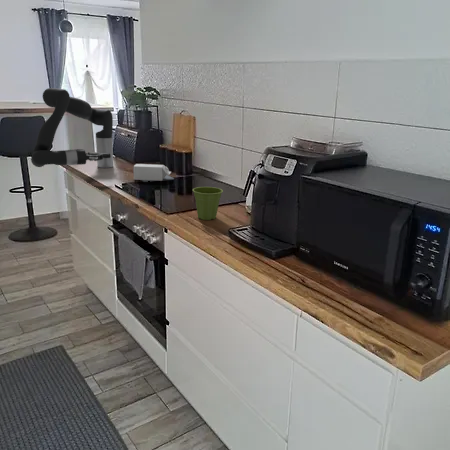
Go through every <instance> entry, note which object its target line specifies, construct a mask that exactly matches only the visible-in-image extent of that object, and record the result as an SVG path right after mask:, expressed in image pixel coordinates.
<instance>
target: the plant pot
mask: <svg viewBox="0 0 450 450" xmlns="http://www.w3.org/2000/svg"><path fill="white" fill-rule="evenodd" d="M192 192H193V194H194V198H195V205H196V214H197V218H198V219H200V220H203V221H211V220H215V219H217V214H218V209H219V206H220V205H219V204H220V201H221V197H222V193H223V192H224V190H223V189H222V188H220V187H215V186H214V187H213V186H198V187H194V188H192Z"/></svg>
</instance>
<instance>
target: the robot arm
mask: <svg viewBox="0 0 450 450" xmlns="http://www.w3.org/2000/svg"><path fill="white" fill-rule="evenodd" d="M42 100H43V103H44V104H45V105H46V106H48V107H50V108H53V109H54V111H53V112H52V113H51V115H50V116H49V117H48V118H47V120H46V121H45V122H44V123H43V124H42V125H41V127H40V129H39V132H38V133H37V138H36V141H35V142H36V143H35V147H34V149H33V152H32V155H31V157H30V161H31V163H32V165H33V166H34V167H37V168H42V167H44V166H46V165H55V166H74V165H75V166H79V165H82V166H83V165H86V163H87V161H89V162H93V161H94V162H96V163H97V164H96V165H97V168H101V169H102V168H104V169H106V168H107V169H108V168H113V167H114V152H113V149H114V147H113V131H114V130H113V129H114V128H113V127H114V126H113V121H114V118H113V117H114V116H113V112H112V111H111V110H109V109H103V108H102V109H100V108H92V106H91V105H90V103H89V102H87V101H86V100H83V99H81V98H78V97H74V96H70V92H68V91H67V90H66V89H64V88H57V87H49V88H46V89H44V91H43V92H42ZM65 113H68V114H71V115H73V116H75V117H77V118H80V119H83V120H86V121H89V122H90V123H91V124H93V125H95V126H101V127H102V129H101V130H99V131H97V132H96V133H95V145H96V146H95V147H96V151H88V152H86V150H85V148H82V149H81V148H79V149H65V150H64V149H63V150H62V149H61V150H50V149H51V148H52V146H53V142H54V140H55V136H56V133H57V129H58V128H59V126H60V123H61V121H62V120H63V118H64V115H65Z"/></svg>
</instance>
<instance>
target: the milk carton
mask: <svg viewBox="0 0 450 450" xmlns="http://www.w3.org/2000/svg"><path fill="white" fill-rule="evenodd" d="M170 174H172V171H170V170H169V168H168V167H167V166H165V165H164V164H150V163H148V164H147V163H135V164H134V165H133V180H136V181H139V180H140V181H142V180H157V181H156V182H159V181H160V182H162V180H163V179H164V178H165V177H166V176H167V175H169V176H171V175H170ZM163 181H164V180H163Z"/></svg>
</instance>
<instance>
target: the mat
mask: <svg viewBox="0 0 450 450" xmlns="http://www.w3.org/2000/svg"><path fill="white" fill-rule="evenodd" d="M172 180H174V181H175V178H174V177H172V176H171V175H167V176H166V177H165V178H164V179H163V180H162V181H172ZM148 181H150V182H158V181H157V180H141V182H143V183H149V182H148ZM162 181H161V182H162Z"/></svg>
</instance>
